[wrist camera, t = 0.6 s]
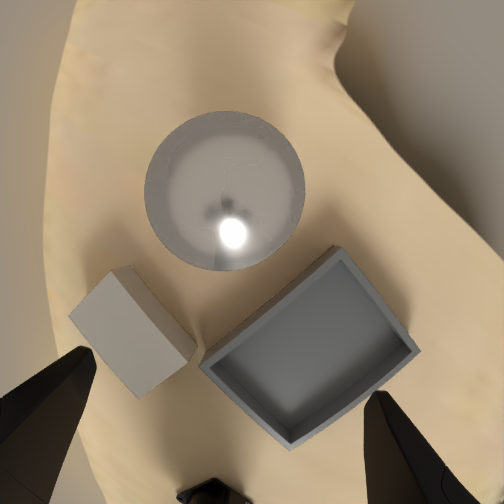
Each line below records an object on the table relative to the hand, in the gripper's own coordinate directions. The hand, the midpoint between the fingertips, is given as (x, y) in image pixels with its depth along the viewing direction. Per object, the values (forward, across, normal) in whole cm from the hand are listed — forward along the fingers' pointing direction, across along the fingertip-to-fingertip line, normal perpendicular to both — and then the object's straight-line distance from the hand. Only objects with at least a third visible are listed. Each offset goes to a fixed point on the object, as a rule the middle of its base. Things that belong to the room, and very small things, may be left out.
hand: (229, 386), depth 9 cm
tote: (+14, -6, +11) cm, 19 cm away
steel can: (+18, +1, +2) cm, 18 cm away
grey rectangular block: (+14, +9, +12) cm, 20 cm away
